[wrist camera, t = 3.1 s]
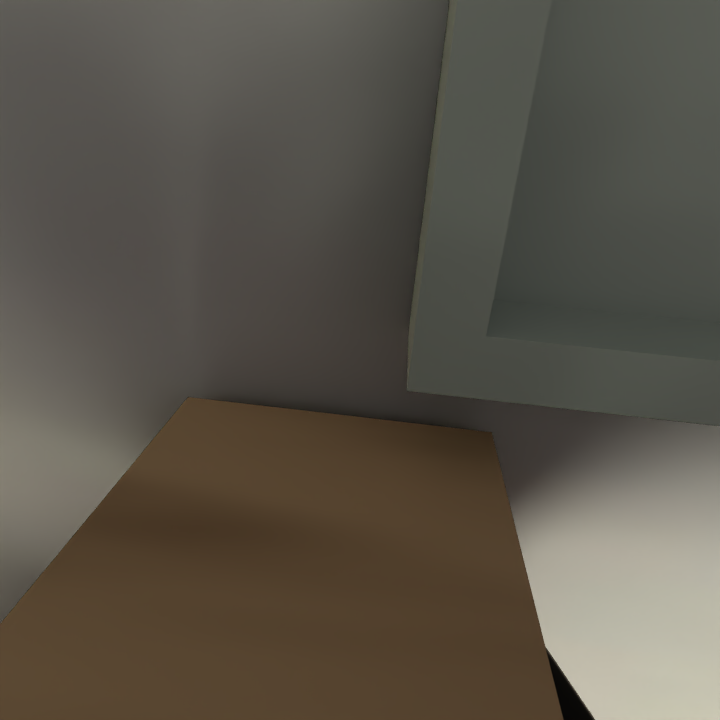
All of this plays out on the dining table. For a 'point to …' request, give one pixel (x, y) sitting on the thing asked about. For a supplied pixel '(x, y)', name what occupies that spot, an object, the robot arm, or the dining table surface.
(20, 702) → the walnut block
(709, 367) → the tray
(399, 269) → the dining table surface
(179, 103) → the dining table surface
